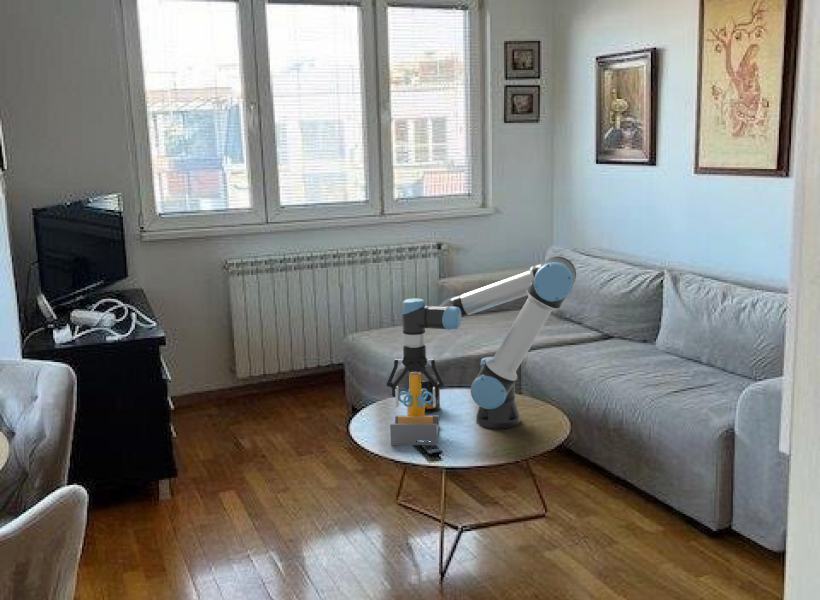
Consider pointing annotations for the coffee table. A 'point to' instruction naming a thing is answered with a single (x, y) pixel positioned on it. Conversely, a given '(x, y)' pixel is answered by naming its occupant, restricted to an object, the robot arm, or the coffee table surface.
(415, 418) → the bar
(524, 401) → the coffee table surface
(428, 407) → the supplement container
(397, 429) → the frame
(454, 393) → the coffee table surface
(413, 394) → the cylinder
